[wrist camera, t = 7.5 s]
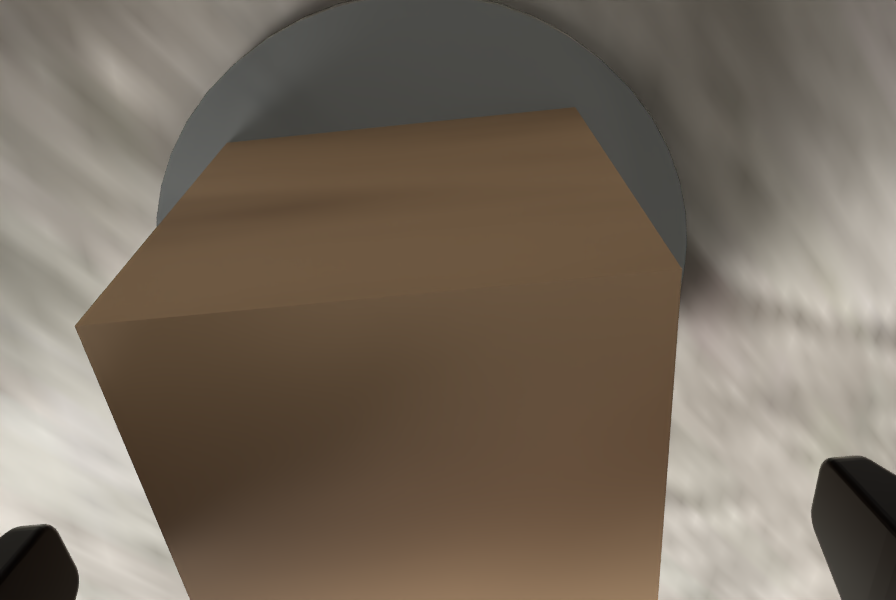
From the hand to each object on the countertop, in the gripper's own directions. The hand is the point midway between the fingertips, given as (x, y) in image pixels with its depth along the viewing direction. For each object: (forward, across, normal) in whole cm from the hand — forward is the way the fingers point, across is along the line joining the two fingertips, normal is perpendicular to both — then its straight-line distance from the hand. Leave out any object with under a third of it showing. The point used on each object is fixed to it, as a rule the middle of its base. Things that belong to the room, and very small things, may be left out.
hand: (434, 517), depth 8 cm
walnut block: (+6, 0, 0) cm, 6 cm away
